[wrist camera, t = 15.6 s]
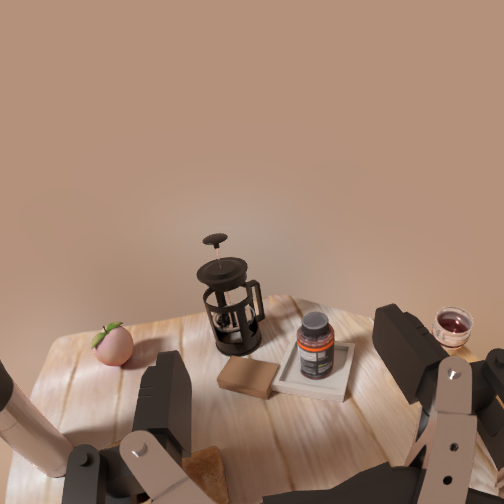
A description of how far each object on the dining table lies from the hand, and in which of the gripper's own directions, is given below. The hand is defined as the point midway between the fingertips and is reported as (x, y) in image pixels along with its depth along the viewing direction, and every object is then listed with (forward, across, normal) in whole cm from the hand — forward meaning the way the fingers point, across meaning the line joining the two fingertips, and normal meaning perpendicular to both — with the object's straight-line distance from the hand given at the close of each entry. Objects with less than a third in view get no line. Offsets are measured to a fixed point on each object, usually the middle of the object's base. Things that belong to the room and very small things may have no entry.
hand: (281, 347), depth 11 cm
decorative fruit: (+35, +30, +32) cm, 56 cm away
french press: (+37, +4, +32) cm, 49 cm away
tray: (+24, -8, +32) cm, 41 cm away
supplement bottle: (+24, -8, +31) cm, 41 cm away
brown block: (+25, +3, +32) cm, 41 cm away
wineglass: (+15, -28, +32) cm, 46 cm away
